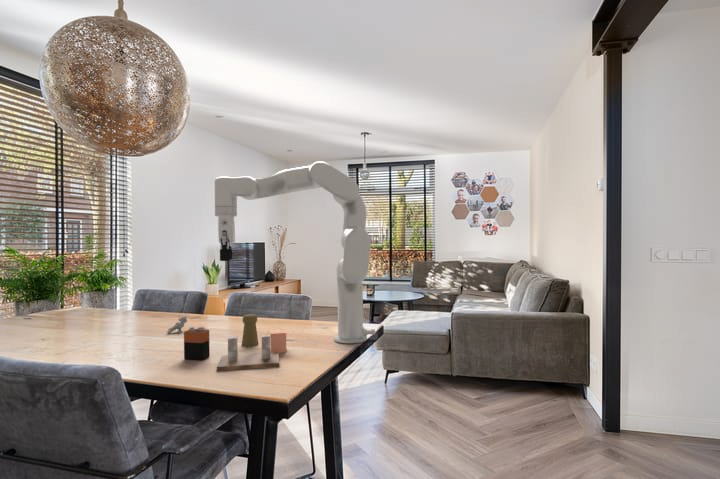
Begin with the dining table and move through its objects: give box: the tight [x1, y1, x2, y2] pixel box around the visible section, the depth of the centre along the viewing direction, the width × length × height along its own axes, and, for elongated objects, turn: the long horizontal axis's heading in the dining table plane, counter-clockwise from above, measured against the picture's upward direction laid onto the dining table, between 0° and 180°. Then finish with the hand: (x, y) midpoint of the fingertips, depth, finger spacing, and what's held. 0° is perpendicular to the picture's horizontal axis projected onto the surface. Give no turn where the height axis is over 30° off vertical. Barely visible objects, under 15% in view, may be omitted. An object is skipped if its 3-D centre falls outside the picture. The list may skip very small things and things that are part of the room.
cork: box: [241, 313, 259, 348], centre depth 151 cm, size 6×6×11 cm
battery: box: [183, 326, 211, 361], centre depth 134 cm, size 4×7×10 cm, turn 79°
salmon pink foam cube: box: [270, 329, 287, 354], centre depth 142 cm, size 5×5×7 cm
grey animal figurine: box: [166, 316, 188, 334], centre depth 172 cm, size 10×6×9 cm
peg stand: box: [216, 334, 280, 372], centre depth 128 cm, size 18×12×8 cm, turn 102°
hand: (226, 260), depth 147 cm, fingers open, 9 cm apart
